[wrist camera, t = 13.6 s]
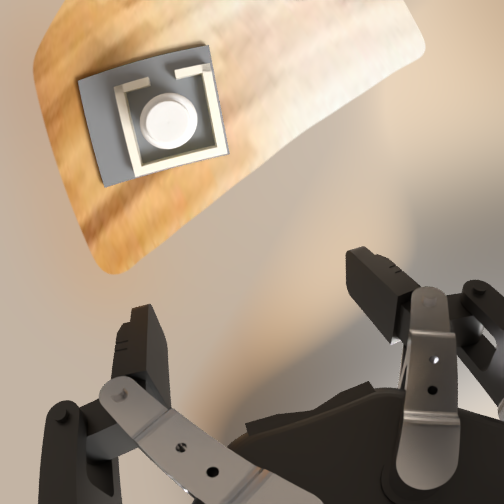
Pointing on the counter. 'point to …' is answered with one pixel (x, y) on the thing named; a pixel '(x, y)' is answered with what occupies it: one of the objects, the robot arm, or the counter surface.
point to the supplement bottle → (168, 120)
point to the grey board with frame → (132, 103)
